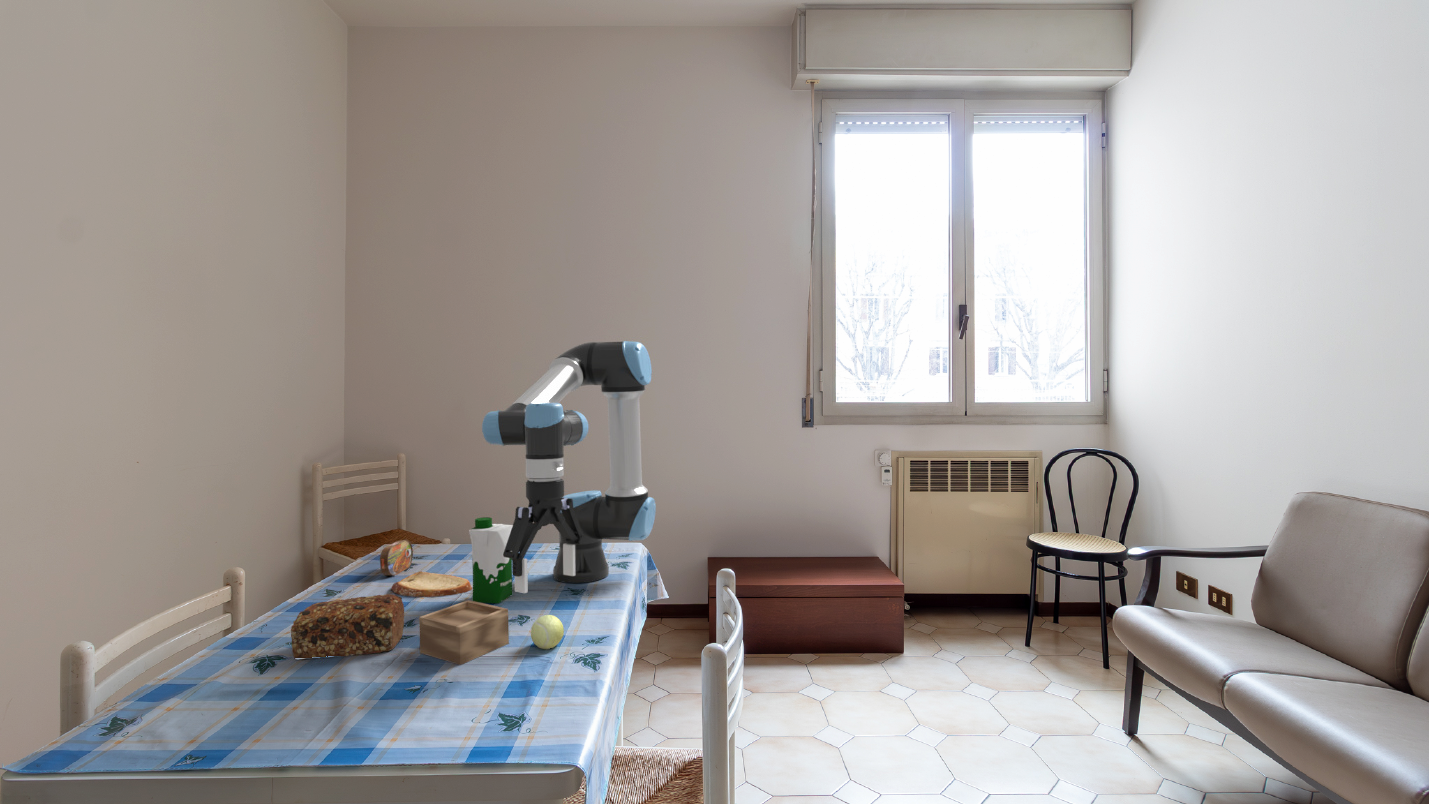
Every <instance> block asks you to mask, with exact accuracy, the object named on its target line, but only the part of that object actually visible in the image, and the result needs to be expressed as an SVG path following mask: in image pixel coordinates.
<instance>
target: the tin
mask: <svg viewBox="0 0 1429 804" xmlns="http://www.w3.org/2000/svg"><path fill="white" fill-rule="evenodd" d="M413 557H414V551H413V545H412V543H411V541H410V540H408V539H403V540H402V539H401V540H397V541H395V542H393V543H391V544H390V545H387V546H385V547H383V549H382V551H381V552H380V555H379V563H380V572H381V574H382V575H383V576H386V577H394V576H395V575H396V576H398V575H399V574H401V573H402V572H404V571H405V570H407V569H409V568H410V566H411V564H412V562H413ZM396 576H395V577H396Z"/></svg>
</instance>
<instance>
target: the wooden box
mask: <svg viewBox="0 0 1429 804" xmlns="http://www.w3.org/2000/svg"><path fill="white" fill-rule="evenodd" d="M418 621H419V622H418V623H419V624H418V625H419V653H420V654H422V655H427V656H429V657H433V658H435V659H439V660H442V661H446V662H450V663H453V664H456V665H460V666H461V665H464V664H466V663H468V662H471V661H472V660H475V659H478V658H479V657H482V656H485V655H486V654H489V653H491V652H494V651H495V650H497V649H500V648H502V647H504V646H506V645H509V644H510V637H509V635H510V633H509V632H510V631H509V628H510V627H509V609H508V608H505V607H501V606H497V605H492V604H489V603H480V602H475V601H472V600H471V599H468V600H464V601H462V602H458V603H456V604H453V605H450V606H448V607H444V608H442V609H439V610H436V611H433V612H430V613H427V614H424V615H421V616H419V618H418Z"/></svg>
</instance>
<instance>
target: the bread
mask: <svg viewBox="0 0 1429 804" xmlns="http://www.w3.org/2000/svg"><path fill="white" fill-rule="evenodd" d="M404 605H405V604H404V602H403V598H402V597H401V595H398V594H392V593H391V594H390V593H387V594H377V595H372V596H371V595H370V596H358V597H357V596H356V597H351V598H346V599H335V600H329V601H321V602H320V601H319V602H315V603H313V604H311V605H310V606H308V607H306V608H305V609H304V610H303V611H299V613H298V614H297V617H296V619H295V620H293V623H292V625H291V627H290V638H291V648H292V649H291V650H292V651H291V652H292V655H293V658H294V659H295V658H312V657H326V656H327V657H328V656H341V657H349V655H351V657H352V656H355V654H356V655H371V654H380V653H383V652H388V651H391V650H394V649H395V647H396V646H397V645H398V643H400V641H401V640H402V637H403V633H404V627H405V626H404V625H405V607H404Z"/></svg>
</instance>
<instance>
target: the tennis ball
mask: <svg viewBox="0 0 1429 804" xmlns="http://www.w3.org/2000/svg"><path fill="white" fill-rule="evenodd" d="M564 630H565V629H564V625H563V623H562V621H561V619H559V618H558V617H557V616H555V615H554V614H553V615H552V614H545V615H541V616H539V617H538V618H537V619H536V620H535V621H534V622H533V624H532V626H531V629H530V639H531V641H532V642H533V644H534V645H535V646H537V648H539V649H542V650H550V648H552V649H553V648H555V647H556V646H557V645H558V644H559V643H560V642H561V641H562V639H563V638H564V633H565V631H564Z"/></svg>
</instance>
